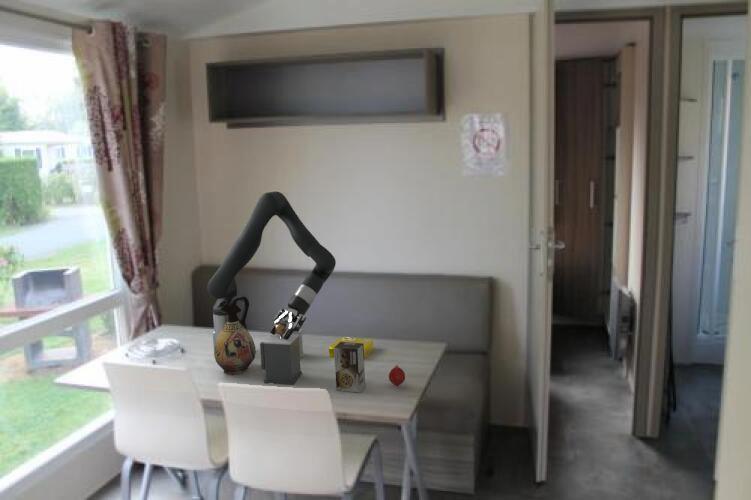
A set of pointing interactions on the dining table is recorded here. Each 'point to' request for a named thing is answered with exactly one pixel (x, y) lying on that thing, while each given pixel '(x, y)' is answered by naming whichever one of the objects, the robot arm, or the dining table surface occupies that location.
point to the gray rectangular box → (281, 359)
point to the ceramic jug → (234, 339)
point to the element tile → (366, 342)
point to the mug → (299, 341)
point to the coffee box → (349, 367)
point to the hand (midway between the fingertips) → (278, 336)
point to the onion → (396, 376)
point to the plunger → (280, 329)
